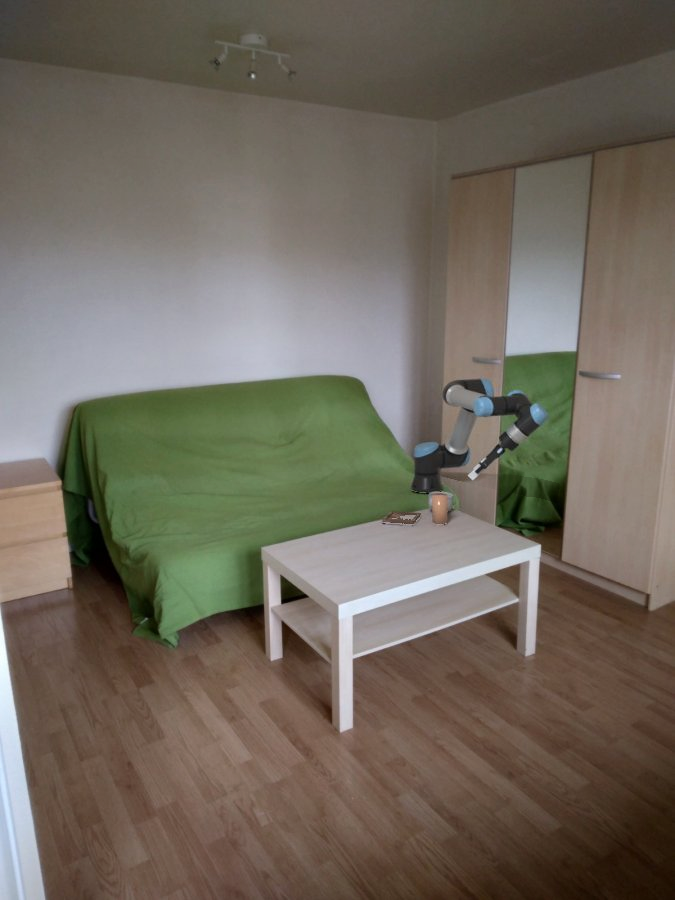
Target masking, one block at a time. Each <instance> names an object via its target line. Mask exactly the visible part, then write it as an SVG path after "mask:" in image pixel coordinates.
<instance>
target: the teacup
mask: <svg viewBox="0 0 675 900" xmlns="http://www.w3.org/2000/svg"><path fill="white" fill-rule="evenodd" d="M436 493H443V494H447V511H449V512H450V511H452V508H453V505H454V494H453V493H451V492H448V491H447V492H446V491H441V492H430V493H429V494H427V496H428V501H427V502H428V508H429V509H430V510H431V511H432V495H433V494H436Z"/></svg>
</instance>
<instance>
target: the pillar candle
mask: <svg viewBox="0 0 675 900" xmlns="http://www.w3.org/2000/svg"><path fill="white" fill-rule="evenodd" d="M431 511H432V515H431V517H432V519H431V520H432V522H433V523H435V524H445V523H447V524H448V512H447V494H443V493H436V494H433V495H432V510H431ZM432 522H431V523H432Z"/></svg>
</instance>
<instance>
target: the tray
mask: <svg viewBox="0 0 675 900" xmlns="http://www.w3.org/2000/svg"><path fill="white" fill-rule="evenodd" d="M405 515H416V516H415V517H414V518H413V519H412V520H411V519H409V520H408V519H405V520H403V518H402V519H401V518H400V516H405ZM420 515H421V516H422V514H421V512H412V511H411V512H410V511H399V510H398V511H396V510H390V511H389V512H388V513H387V514H386V515H384V517H383V518H382V519H381V520H382V521H381V523H382V522H390V523H402V524H403V523H404V524H414V523H415V522H416V520H417V519H418V518H419V517H420ZM397 517H398V518H397ZM392 518H397V519H392Z"/></svg>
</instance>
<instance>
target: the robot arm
mask: <svg viewBox="0 0 675 900" xmlns="http://www.w3.org/2000/svg"><path fill="white" fill-rule="evenodd" d="M494 391H495V390H494V386H493V384H492V382H491V381H490V380H489V379H487V378H471V379H455V380H453V381H450V382H448V383H447V384H446V385H445V386H444V388H443V390H442V394H441V395H442V399H443V402H444V403H446V404H447V405H448V406H450V407H454V408H458V407H460V409H459V412H458V413H457V416H456V419H455V423H454V424H453V428H452V431H451V434H450V436H449V437H447V438H446V439H445V441H444V443H443V444H439V443H438V442H436V441H430V442H429V441H427V442H422V443H419V444H417V445H416V446H414V451H413V452H414V453H413V457H414V459H413V460H414V461H413V462H414V463H413V464H414V468H413V469H414V476H413V479H412V482H411V486H410V490H411V489H412V490H414V491H417V492H426V493H430V492H437V491H440V490H441V489H442V490H443V485H442V482H441V479H440V476H439V469H451V468H452V469H453V468H458V469H459V468H461V467H465V466H466V465H467V464H468V463H469V462H470V459H471V456H470V455H471V450H470V446H469V445H468V442H469V439H470V437H471V434H472V431H473V429H474V426H475V424H476V421H477V419H478V418H489V417H499V416H515V417H516V418H517V419H516V420H515V421H514V422H513V423H512V424H511V425H510V426H508V428H507V429H506V430H505V431H503V432H502V433H501V434H500V435H499V437H498V439H499V441H500V443H497V444H496V445H495V447H494V448H493V449H492V450H491V451H490V452H489V453H488V454H487V455H486V456H485V457H484V458H483V459H482V460H480V462H478V464H476V465H475V466H474V467H473V469H472V471H471V472H470V473H468V474H467V476H468V477H469V478H470V480H471V481H474V480H475V479H476V478H477V477H478V476H479V475H480V474H482V473H483V472H484V471H485V470H486V469H487V468H488V467H489V466H490V465H491V464H492V463H494V461H495V460H496V459H498V458H500V457H501V456H502V455H503V454H504V453H505V452H506V449H507V450H509V451H510V452H514V450H515V449H517V448H518V447H520V444H522V443H523V442H524V441H525V442H527V441H528V437H530V436H531V435H532V434H533V433H534V432H535V431H536V430H538V429H539V428H540V427H541V426H542V425H543V424H544V423H545V422H546V421H548V419H549V413H548V412H547V410H545V408H544V407H543V406H542V405H540V404H539V403H537V402H535V403H534V404H533V403H532V402H531V401H530V399H529V397H528V396H527V395H526V394H525V393H524V392H523V391H522V390H519V389H514V390H512V391H509V392H508V394H507V395H501V396H495V392H494Z"/></svg>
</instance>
